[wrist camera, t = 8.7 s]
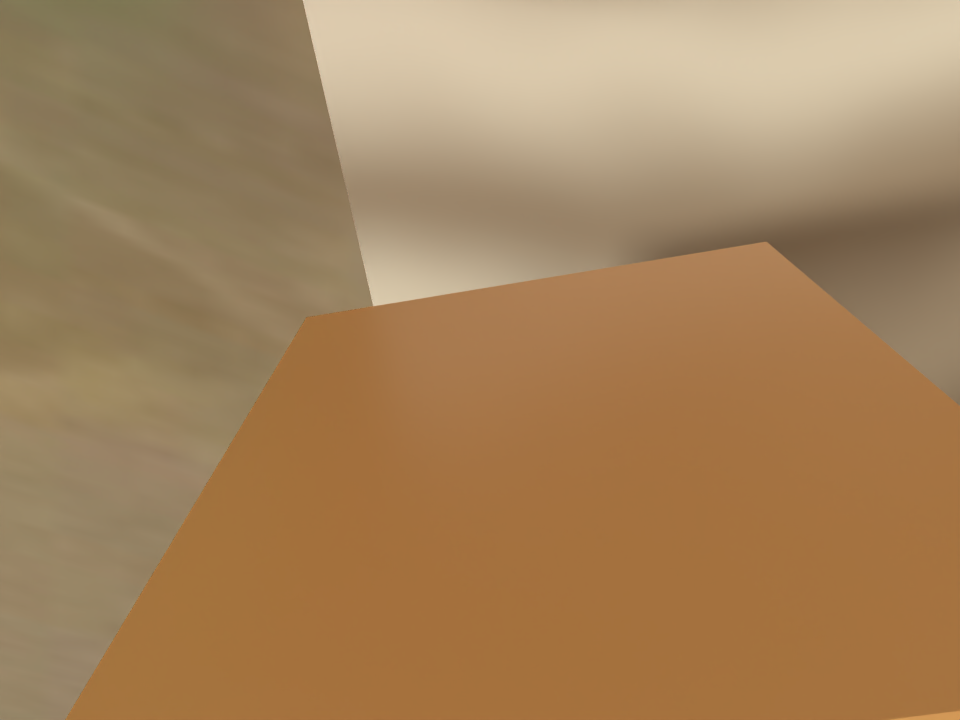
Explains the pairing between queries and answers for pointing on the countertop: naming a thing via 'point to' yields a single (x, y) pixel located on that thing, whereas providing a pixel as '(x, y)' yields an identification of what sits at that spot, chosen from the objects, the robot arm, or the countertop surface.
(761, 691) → the plain orange cube
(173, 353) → the countertop surface
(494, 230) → the stub board
